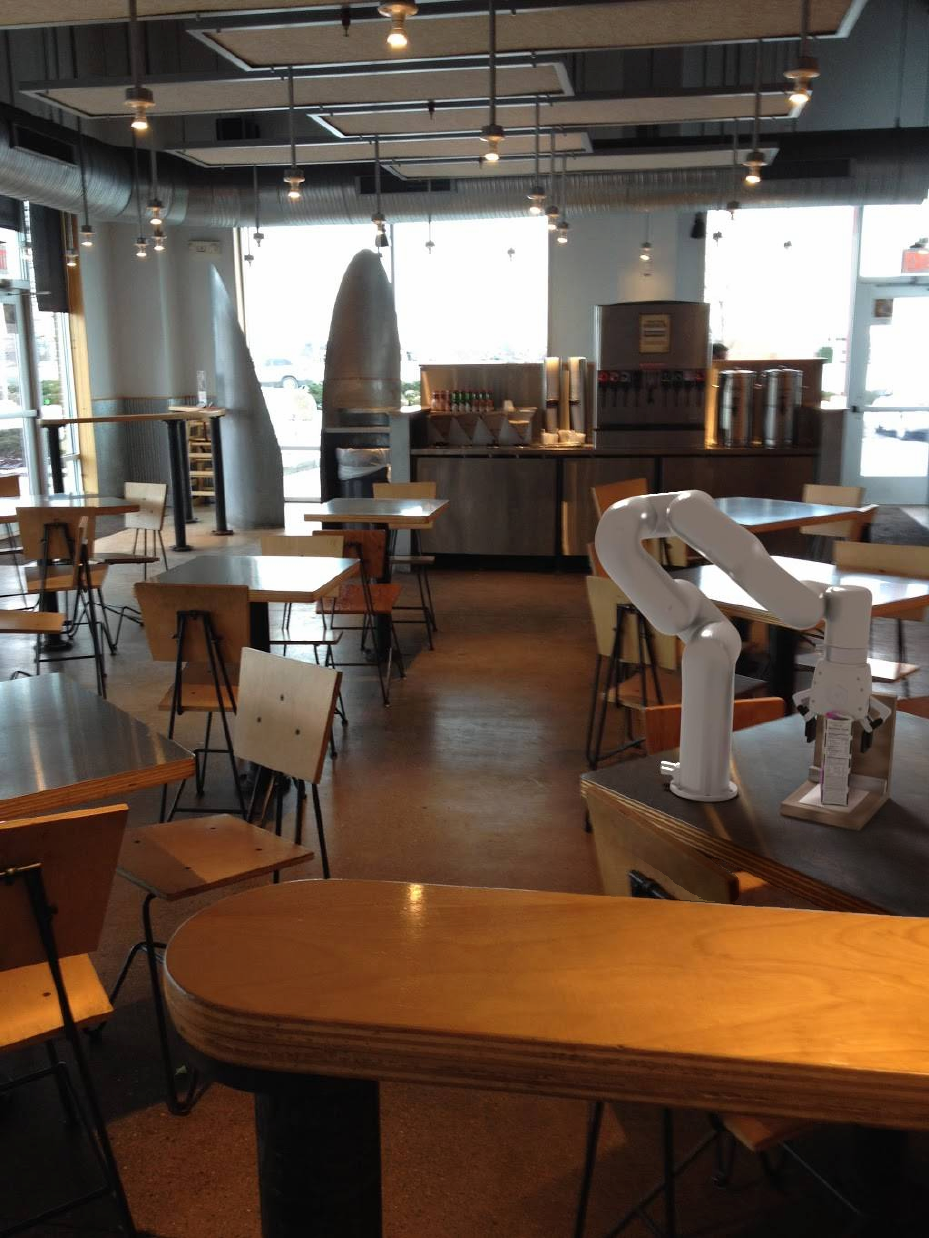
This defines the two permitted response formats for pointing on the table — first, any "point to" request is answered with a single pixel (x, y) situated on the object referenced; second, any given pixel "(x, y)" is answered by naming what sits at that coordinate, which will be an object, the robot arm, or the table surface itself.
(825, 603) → the robot arm
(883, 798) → the display stand
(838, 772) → the candy bar box
